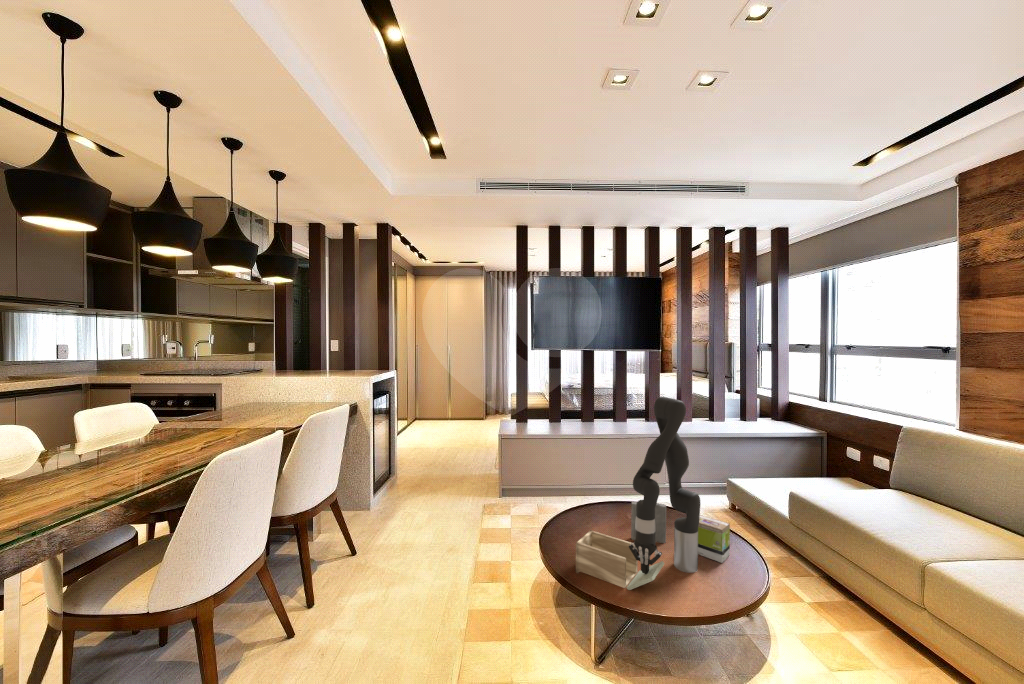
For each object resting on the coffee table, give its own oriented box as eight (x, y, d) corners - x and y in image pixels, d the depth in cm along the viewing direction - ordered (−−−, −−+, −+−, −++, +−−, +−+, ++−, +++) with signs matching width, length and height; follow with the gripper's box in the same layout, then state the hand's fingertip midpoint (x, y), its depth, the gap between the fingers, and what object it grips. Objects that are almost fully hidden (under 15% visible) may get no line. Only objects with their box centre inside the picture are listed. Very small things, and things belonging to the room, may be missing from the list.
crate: (590, 558, 183) (590, 530, 183) (637, 574, 170) (637, 544, 170) (575, 572, 172) (575, 542, 171) (624, 591, 159) (625, 559, 159)
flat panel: (638, 571, 170) (662, 560, 164) (640, 573, 170) (664, 563, 164) (626, 587, 159) (651, 577, 153) (628, 590, 158) (653, 580, 153)
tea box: (730, 555, 186) (730, 522, 185) (722, 564, 179) (722, 530, 178) (696, 543, 196) (696, 512, 196) (687, 551, 189) (687, 518, 189)
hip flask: (631, 540, 199) (631, 498, 199) (630, 536, 203) (631, 495, 203) (666, 543, 196) (666, 501, 196) (664, 539, 200) (665, 498, 200)
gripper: (665, 529, 160) (665, 574, 160) (632, 520, 168) (631, 562, 168) (659, 537, 154) (659, 583, 154) (625, 527, 162) (624, 571, 162)
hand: (644, 572), depth 161 cm, fingers closed
